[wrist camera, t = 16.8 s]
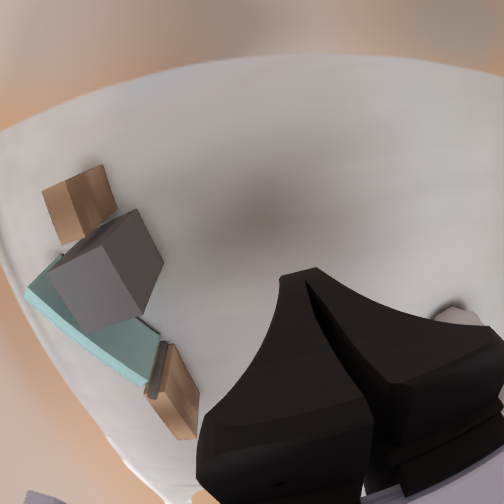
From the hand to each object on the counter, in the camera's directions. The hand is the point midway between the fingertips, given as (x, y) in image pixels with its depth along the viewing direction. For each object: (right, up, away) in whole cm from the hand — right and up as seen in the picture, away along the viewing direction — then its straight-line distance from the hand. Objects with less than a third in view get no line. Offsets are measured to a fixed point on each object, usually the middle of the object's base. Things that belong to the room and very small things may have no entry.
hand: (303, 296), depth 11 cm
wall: (-9, -2, +11) cm, 14 cm away
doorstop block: (-10, +2, +9) cm, 14 cm away
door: (-13, -2, +10) cm, 16 cm away
